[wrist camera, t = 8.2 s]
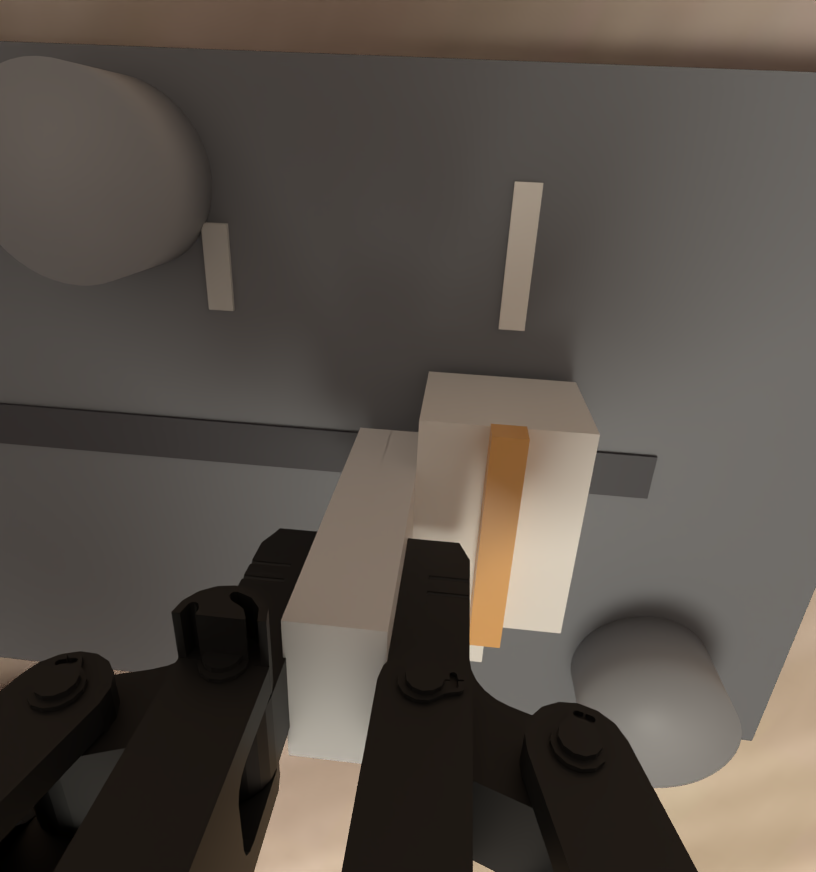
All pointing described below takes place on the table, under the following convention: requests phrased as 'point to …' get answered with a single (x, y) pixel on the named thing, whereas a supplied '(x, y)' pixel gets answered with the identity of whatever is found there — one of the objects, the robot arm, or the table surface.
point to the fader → (506, 492)
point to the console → (412, 343)
